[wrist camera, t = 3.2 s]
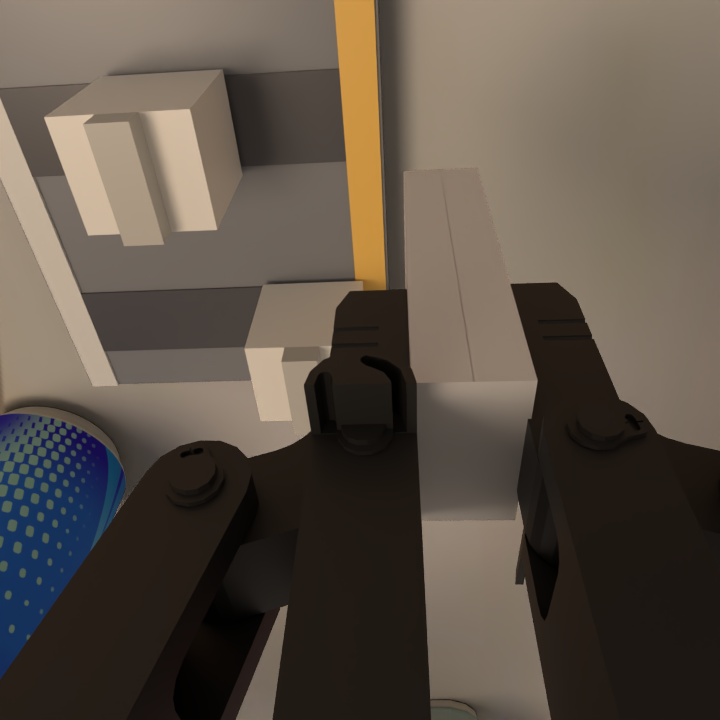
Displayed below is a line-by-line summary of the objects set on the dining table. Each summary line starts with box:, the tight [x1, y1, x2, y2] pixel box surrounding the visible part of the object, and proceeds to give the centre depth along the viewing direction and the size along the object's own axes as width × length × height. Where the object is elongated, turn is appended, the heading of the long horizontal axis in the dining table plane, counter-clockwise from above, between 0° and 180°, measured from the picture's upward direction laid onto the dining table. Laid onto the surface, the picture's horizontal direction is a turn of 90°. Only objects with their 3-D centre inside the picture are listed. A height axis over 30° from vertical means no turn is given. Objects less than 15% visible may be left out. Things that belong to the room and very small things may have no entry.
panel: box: [0, 0, 389, 435], centre depth 20 cm, size 14×23×7 cm, turn 4°
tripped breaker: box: [44, 69, 243, 246], centre depth 19 cm, size 4×4×5 cm
